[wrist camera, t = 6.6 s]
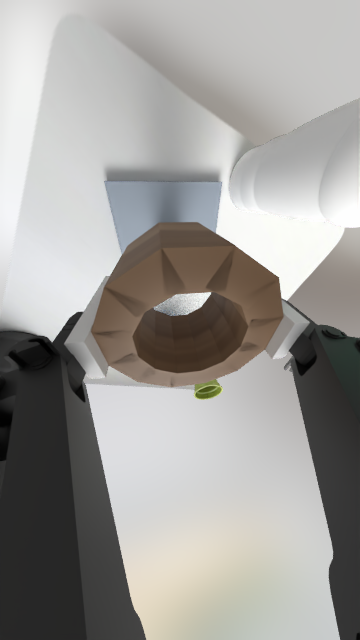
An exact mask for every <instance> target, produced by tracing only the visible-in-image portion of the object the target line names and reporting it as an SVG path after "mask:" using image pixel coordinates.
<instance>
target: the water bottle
mask: <svg viewBox="0 0 360 640" xmlns="http://www.w3.org/2000/svg"><path fill="white" fill-rule="evenodd" d="M229 194H230V199H231V201H232V203H233V205H234V206H235V207H236V208H237V209H238V210H240V211H243V212H254V213H258V214H272V215H275V216H279V217H284V218H290V219H297V220H305V221H316V222H330V223H332V224H334V225H336V226H340V227H360V98H359V99H357V100H354V101H352V102H350V103H347V104H345V105H343V106H341V107H338V108H336V109H334V110H332V111H330V112H328V113H326V114H324V115H321V116H319V117H318V118H315V119H314V120H311V121H310V122H308V123H306V124H304V125H302V126H300V127H298V128H297V129H295V130H293V131H292V132H290V133H288V134H285V135H282V136H279V137H276V138H274V139H272V140H270V141H269V142H267V143H265V144H263V145H260V146H257V147H255V148H253V149H251V150H249V151H248V152H246V153H245V154H244V155H243V156H242V157H241V158H240V160H239V161H238V162H237V164H236V166H235V168H234V170H233V172H232V175H231V179H230V184H229Z"/></svg>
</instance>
